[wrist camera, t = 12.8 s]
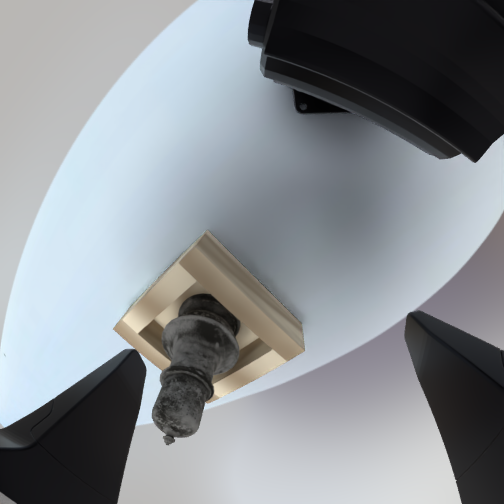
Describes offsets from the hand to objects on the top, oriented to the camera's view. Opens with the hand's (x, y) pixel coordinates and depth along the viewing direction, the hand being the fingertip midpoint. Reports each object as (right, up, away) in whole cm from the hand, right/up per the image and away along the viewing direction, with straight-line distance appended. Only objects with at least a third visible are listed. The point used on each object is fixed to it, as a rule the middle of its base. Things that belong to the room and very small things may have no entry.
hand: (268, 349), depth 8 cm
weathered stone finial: (-4, -3, +15) cm, 15 cm away
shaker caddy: (-4, -3, +15) cm, 16 cm away
